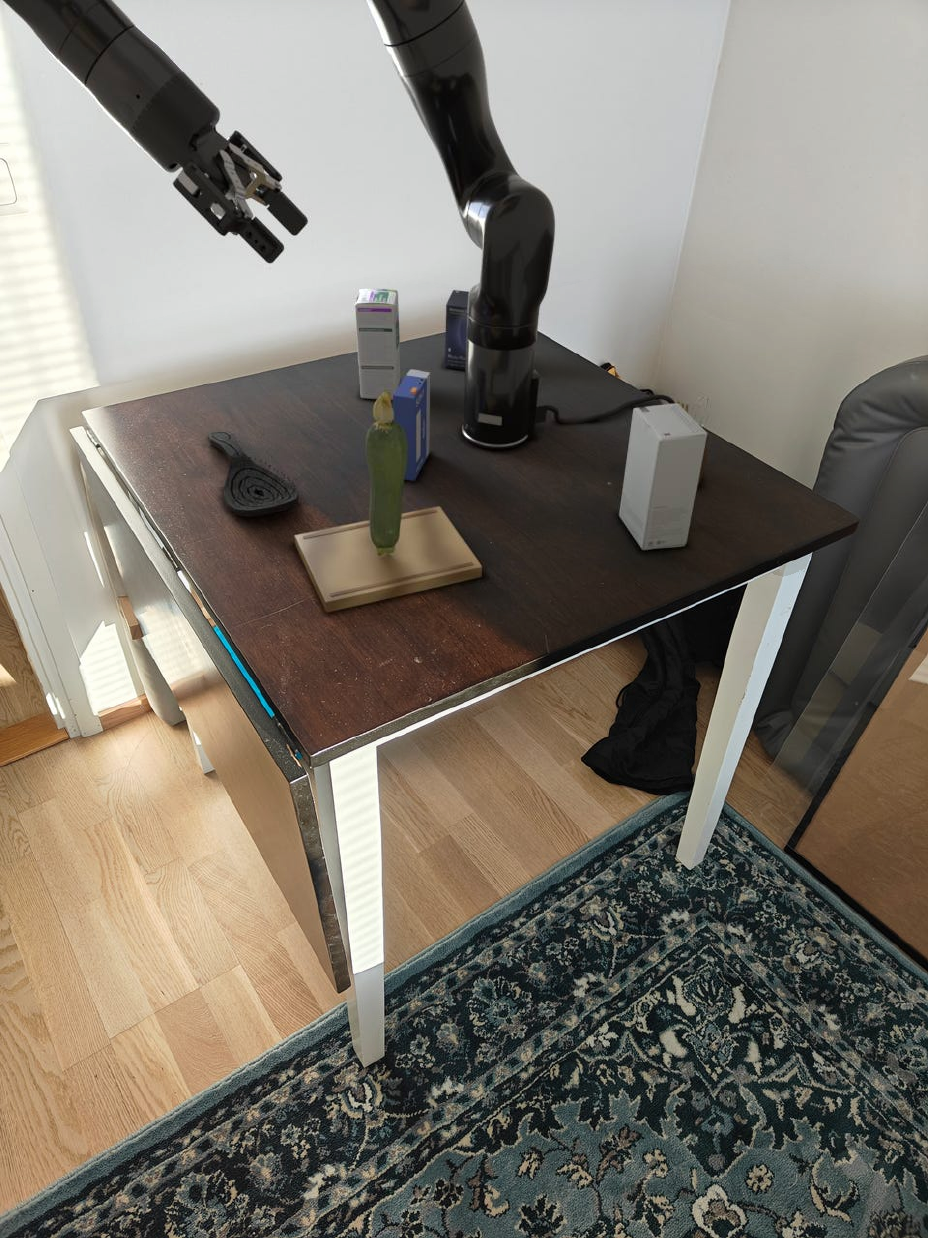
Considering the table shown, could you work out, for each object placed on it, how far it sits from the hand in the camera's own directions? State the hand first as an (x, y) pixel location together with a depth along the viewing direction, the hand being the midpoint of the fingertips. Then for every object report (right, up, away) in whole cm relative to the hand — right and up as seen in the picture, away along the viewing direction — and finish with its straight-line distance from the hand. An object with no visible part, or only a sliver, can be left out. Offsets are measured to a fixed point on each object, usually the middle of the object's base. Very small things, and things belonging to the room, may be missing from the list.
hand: (290, 242), depth 85 cm
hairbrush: (-11, -19, +27) cm, 35 cm away
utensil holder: (+45, -18, +30) cm, 58 cm away
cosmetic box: (+40, -26, +21) cm, 52 cm away
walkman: (+10, -17, +31) cm, 36 cm away
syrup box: (+4, -3, +47) cm, 47 cm away
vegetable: (+9, -29, +13) cm, 33 cm away
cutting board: (+8, -30, +14) cm, 34 cm away
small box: (+19, +4, +55) cm, 59 cm away
